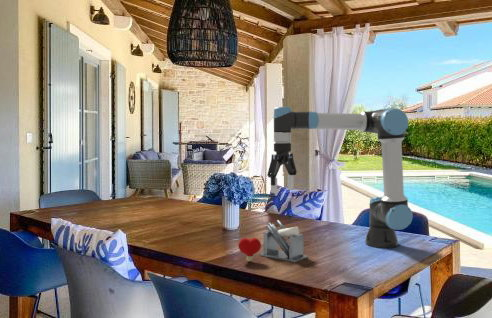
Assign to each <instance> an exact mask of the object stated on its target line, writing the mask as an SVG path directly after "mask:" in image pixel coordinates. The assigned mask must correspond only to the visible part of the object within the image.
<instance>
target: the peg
mask: <svg viewBox="0 0 492 318" xmlns="http://www.w3.org/2000/svg"><path fill="white" fill-rule="evenodd" d="M285 228H286V229H281V228H280V229H278V233H279V234H280V236H281V237H282V238H288V237H289V236H295V235H298V234H300V229H299V227H298V226H293V227H285Z"/></svg>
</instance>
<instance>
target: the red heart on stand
mask: <svg viewBox="0 0 492 318" xmlns="http://www.w3.org/2000/svg"><path fill="white" fill-rule="evenodd" d="M261 247H262V243H261V241H260V240H259V239H258V238H257V237H252V238H250V239H249V238H248V237H243V238H241V239H240V240H239V242H238V249H239V251H240V252H241V253H242V254H244V255H245V256H246V261H247V262H248V263H251V262H252V261H253V260H254V259H253V257H254V255H255V254H256V253H258V252H260V250H261Z"/></svg>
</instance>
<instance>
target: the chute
mask: <svg viewBox="0 0 492 318" xmlns="http://www.w3.org/2000/svg"><path fill="white" fill-rule="evenodd" d="M275 223H277V225H278V226H279V228H280V230H281V229H286V228H287V227H285V225H284V224H283V223H282V222H281V221H280V220H279V219H277V220H276V222H275ZM275 223H272V222H268V223H267V225H266V227H265V228H266V229H267V231H263V236H262V237H263V241H262V242H263V246H262V247H263V251H262V252H261V253H259V256H261V257H266V258H270V259H276V260H282V261H286V262H293V263H297V262H299V261H302V260H304V259H306V258H308V255H305V254H304V233H299V234H298V235H295V236H289V237H287V238H288V241H287V239H286V237H284V238H282V237H281V236H280V234H279V233H278V230H279V228H278V227H277V226H276V225H275ZM279 247H280V248H281V249H282V250H279Z"/></svg>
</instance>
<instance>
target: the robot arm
mask: <svg viewBox="0 0 492 318" xmlns="http://www.w3.org/2000/svg"><path fill="white" fill-rule="evenodd" d="M408 128H409V117H408V116H407V113H405V112H404V110H402V109H399V108H395V107H393V108H392V107H391V108H390V107H389V108H384V109H377V110H371V111H361V112H360V113H340V112H339V113H335V112H333V113H331V112H330V113H329V112H326V113H325V112H317V111H310V110H309V111H292V108H291V107H290V106H276V107H274V109H273V142H274V143H273V152H275V154H274V153H272V154H271V160H270V163H269V168H268V171H267V177H268V178H270V193H271V194H278V177H277V176H278V174H279V171H280V168H281V166H282V165H284V167H285V170H286V172H287V173H288V175H287V190H289V191H292V190H293V191H294V190H295V189H294V186H295V185H294V181H295V179H294V177H295V176H296V175H297V172H298V171H297V167H296V164H295V159H294V154H293V152H292V144H291V142H292V129H293V130H343V131H344V130H348V131H349V130H350V131H351V130H352V131H357V130H358V131H359V132H361V133H369V134H370V133H371V134H376V135H377V140H378V141H379V142H380V143H381V158H382V159H381V160H382V162H381V164H382V178H383V179H382V181H383V196H372V197H371V198H370V199H369V204H368V205H369V220H368V221H369V224H368V225H369V228H368V230H367V233H366V237H365V244H366V245H367V246H370V247H373V246H374V247H375V248H381V247H382V248H383V249H385V248H386V249H387V248H389V247H391V248H395V246H396V247H397V246H399V240H398V236H397V234H396V231H400V230H404V229H406V228H407V227H409V226H410V225H411V223H412V221H413V211H412V209H411V208H410V207H409V203H408V197H406V196H405V191H404V190H405V189H404V175H403V173H404V172H403V171H404V169H403V150H402V142H403V140H404V139H406V136H405V132H406V130H407V129H408ZM290 152H291V153H290ZM395 230H396V231H395ZM382 248H381V249H382ZM389 249H390V248H389Z"/></svg>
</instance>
